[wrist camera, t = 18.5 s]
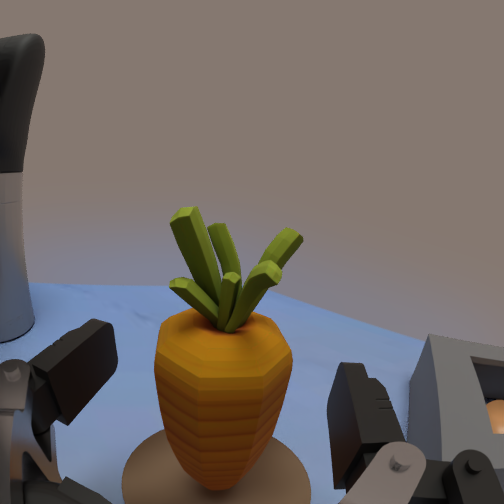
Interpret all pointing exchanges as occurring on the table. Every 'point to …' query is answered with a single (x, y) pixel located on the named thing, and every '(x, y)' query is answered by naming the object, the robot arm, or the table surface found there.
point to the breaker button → (496, 415)
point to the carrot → (221, 355)
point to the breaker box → (456, 400)
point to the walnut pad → (201, 498)
